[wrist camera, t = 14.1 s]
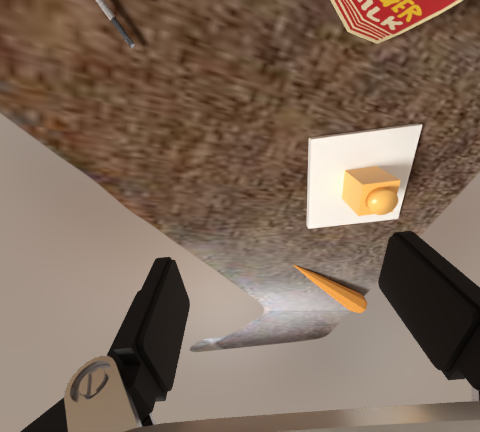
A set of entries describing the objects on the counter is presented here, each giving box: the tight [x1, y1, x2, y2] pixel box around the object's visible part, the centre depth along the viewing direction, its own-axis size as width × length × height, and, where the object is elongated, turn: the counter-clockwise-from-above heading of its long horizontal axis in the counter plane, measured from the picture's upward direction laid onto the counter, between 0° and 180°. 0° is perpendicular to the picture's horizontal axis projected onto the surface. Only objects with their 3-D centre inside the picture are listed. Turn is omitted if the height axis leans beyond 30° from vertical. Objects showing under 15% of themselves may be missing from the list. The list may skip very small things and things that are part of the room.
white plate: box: [307, 123, 422, 229], centre depth 36 cm, size 16×16×6 cm
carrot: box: [294, 265, 367, 313], centre depth 50 cm, size 20×4×4 cm, turn 57°
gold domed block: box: [342, 166, 401, 216], centre depth 34 cm, size 5×5×8 cm
